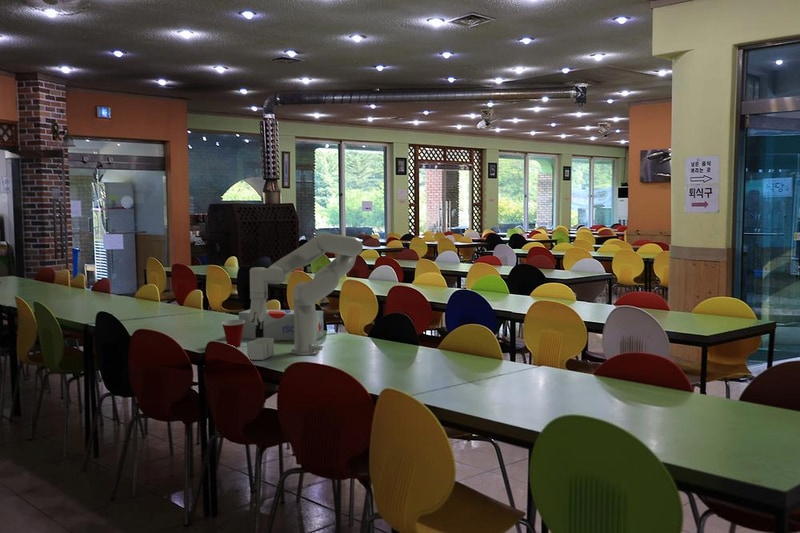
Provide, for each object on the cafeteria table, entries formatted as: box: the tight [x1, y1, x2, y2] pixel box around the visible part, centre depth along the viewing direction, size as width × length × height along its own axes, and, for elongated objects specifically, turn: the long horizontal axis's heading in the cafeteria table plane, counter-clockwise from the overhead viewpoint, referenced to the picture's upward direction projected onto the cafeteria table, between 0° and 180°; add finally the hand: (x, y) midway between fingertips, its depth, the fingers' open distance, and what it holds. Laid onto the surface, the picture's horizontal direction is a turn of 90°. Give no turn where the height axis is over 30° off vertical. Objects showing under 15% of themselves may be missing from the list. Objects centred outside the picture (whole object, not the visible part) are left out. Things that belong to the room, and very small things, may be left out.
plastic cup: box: [220, 319, 245, 348], centre depth 353 cm, size 11×11×12 cm
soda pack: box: [238, 308, 325, 342], centre depth 376 cm, size 41×13×14 cm, turn 76°
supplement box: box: [246, 338, 275, 361], centre depth 327 cm, size 7×7×13 cm
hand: (259, 337), depth 332 cm, fingers closed
